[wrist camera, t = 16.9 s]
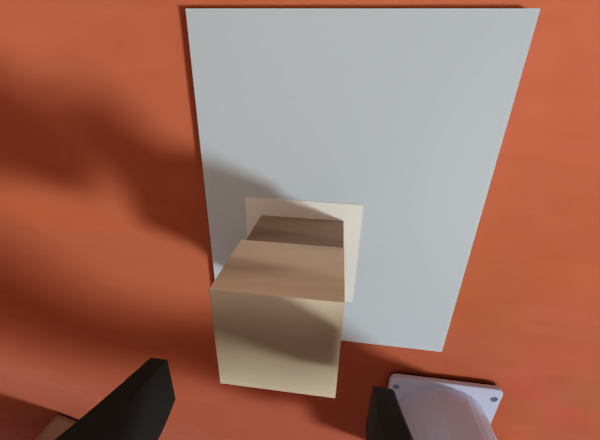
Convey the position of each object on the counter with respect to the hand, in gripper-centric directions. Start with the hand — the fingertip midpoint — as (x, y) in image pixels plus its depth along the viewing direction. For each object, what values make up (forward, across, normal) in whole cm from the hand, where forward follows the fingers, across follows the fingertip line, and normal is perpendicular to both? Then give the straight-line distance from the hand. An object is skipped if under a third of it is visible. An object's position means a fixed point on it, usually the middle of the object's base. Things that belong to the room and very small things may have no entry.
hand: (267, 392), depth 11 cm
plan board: (+10, -2, -3) cm, 11 cm away
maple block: (+6, 0, 0) cm, 6 cm away
